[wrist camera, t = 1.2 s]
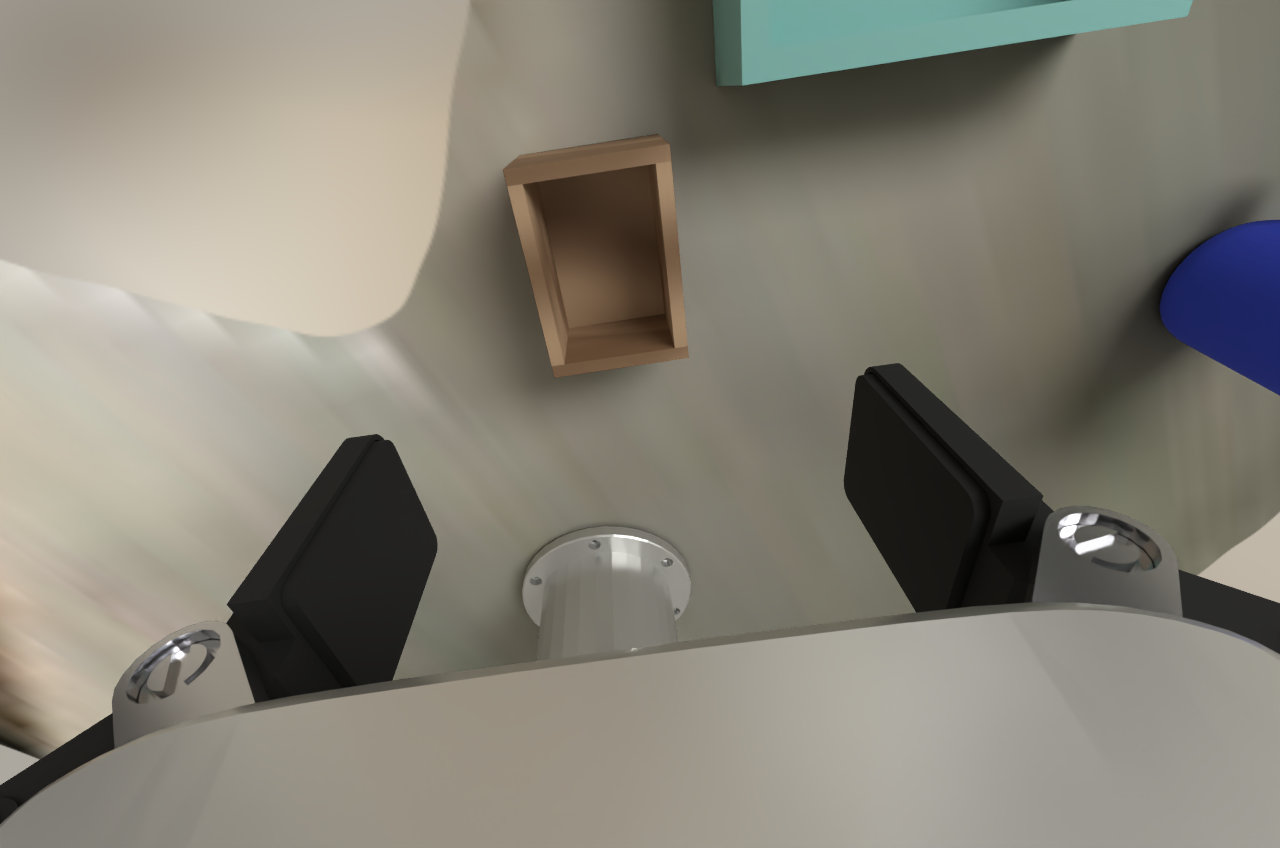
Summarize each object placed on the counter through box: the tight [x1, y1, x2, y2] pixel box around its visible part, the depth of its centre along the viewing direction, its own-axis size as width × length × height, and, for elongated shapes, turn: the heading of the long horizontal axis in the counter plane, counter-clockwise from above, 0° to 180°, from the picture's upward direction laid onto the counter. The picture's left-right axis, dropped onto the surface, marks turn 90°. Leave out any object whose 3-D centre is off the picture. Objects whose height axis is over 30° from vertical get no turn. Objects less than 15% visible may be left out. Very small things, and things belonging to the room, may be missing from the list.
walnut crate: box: [503, 134, 689, 377], centre depth 24 cm, size 9×6×5 cm
